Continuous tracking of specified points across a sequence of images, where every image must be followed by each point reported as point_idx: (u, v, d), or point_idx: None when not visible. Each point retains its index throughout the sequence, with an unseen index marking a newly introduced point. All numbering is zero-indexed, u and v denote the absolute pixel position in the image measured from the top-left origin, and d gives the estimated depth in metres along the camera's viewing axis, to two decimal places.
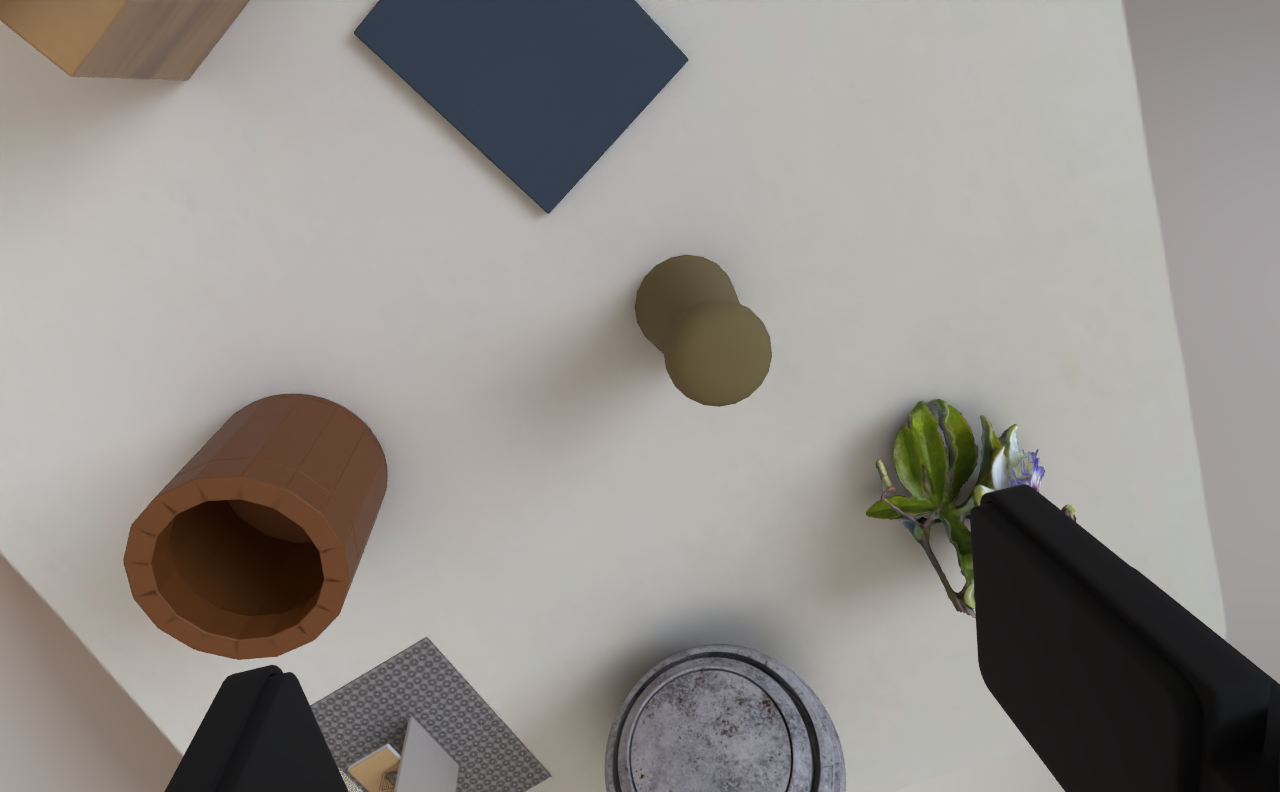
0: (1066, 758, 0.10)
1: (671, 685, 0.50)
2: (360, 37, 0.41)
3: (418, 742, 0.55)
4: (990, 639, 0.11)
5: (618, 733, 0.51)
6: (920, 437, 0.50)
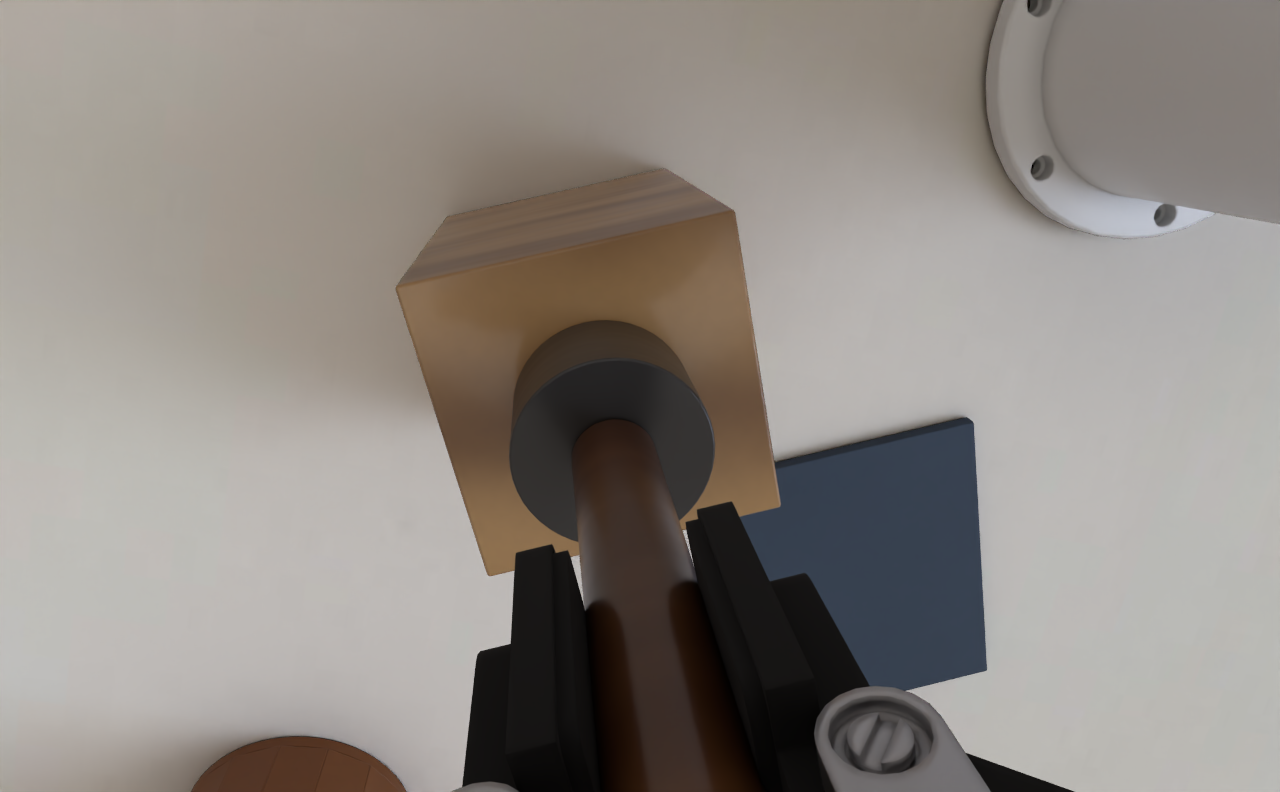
0: None
1: None
2: None
3: None
4: None
5: None
6: None
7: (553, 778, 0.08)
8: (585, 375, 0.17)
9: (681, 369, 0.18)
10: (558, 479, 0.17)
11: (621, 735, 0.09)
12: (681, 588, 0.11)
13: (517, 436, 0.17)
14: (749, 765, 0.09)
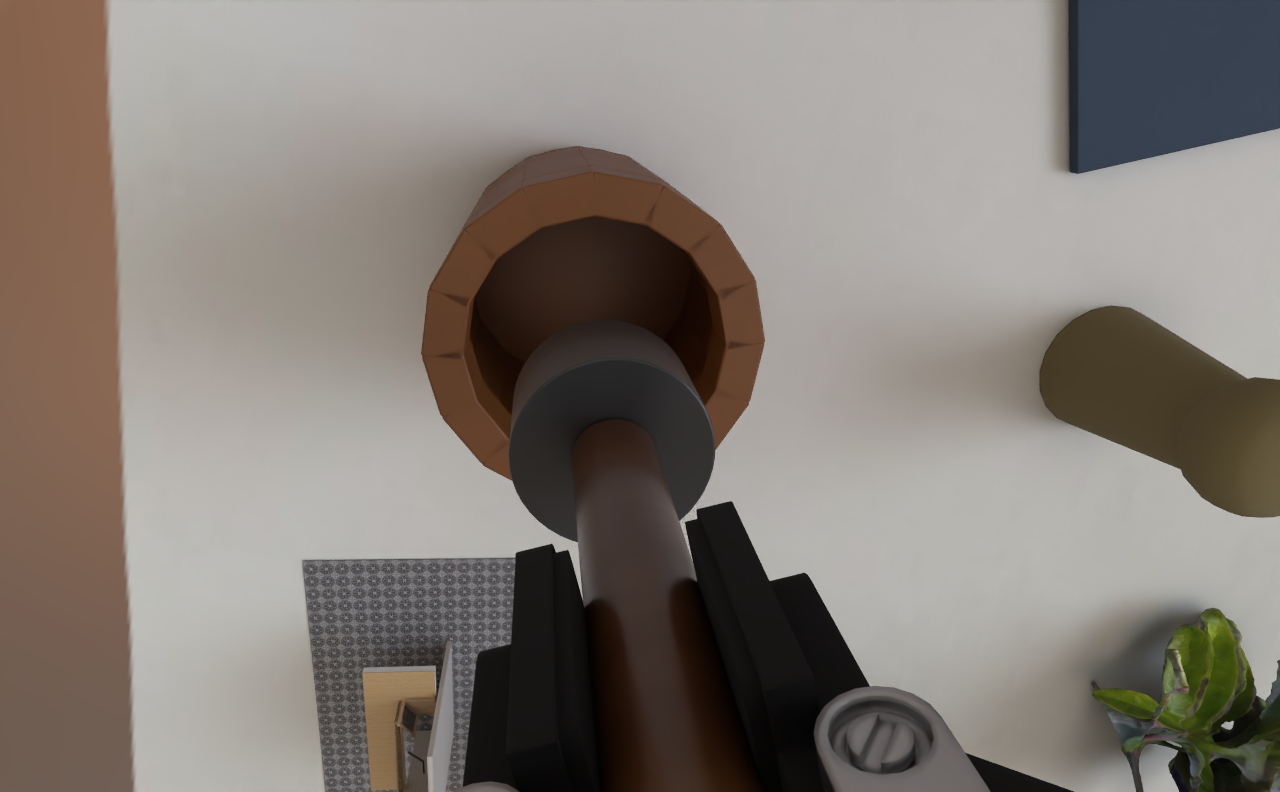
0: None
1: None
2: None
3: (448, 680, 0.39)
4: None
5: None
6: None
7: (553, 778, 0.08)
8: (585, 375, 0.16)
9: (681, 369, 0.18)
10: (557, 479, 0.17)
11: (621, 737, 0.09)
12: (681, 589, 0.11)
13: (516, 436, 0.17)
14: (750, 767, 0.09)
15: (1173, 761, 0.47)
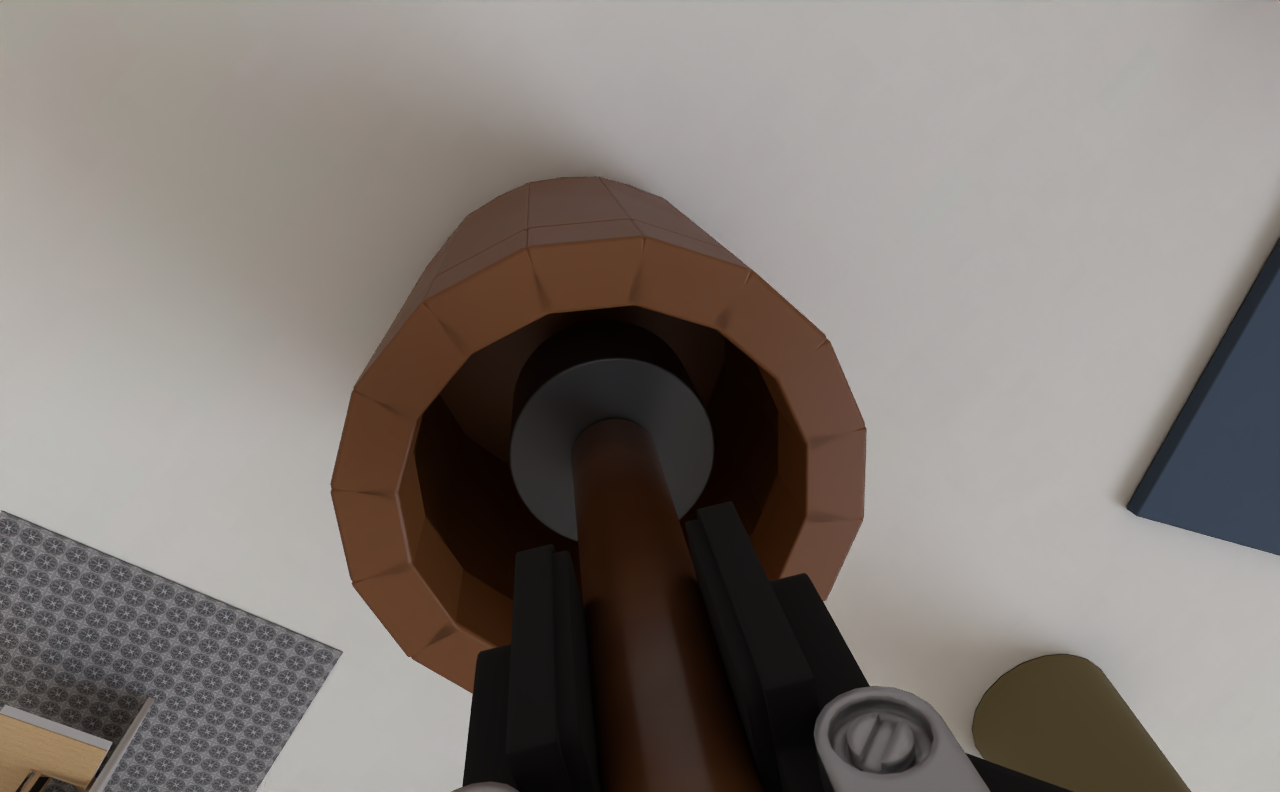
0: None
1: None
2: None
3: (121, 754, 0.27)
4: None
5: None
6: None
7: (553, 778, 0.08)
8: (585, 374, 0.17)
9: (681, 368, 0.18)
10: (558, 478, 0.17)
11: (621, 735, 0.09)
12: (681, 588, 0.11)
13: (517, 436, 0.17)
14: (749, 765, 0.09)
15: None
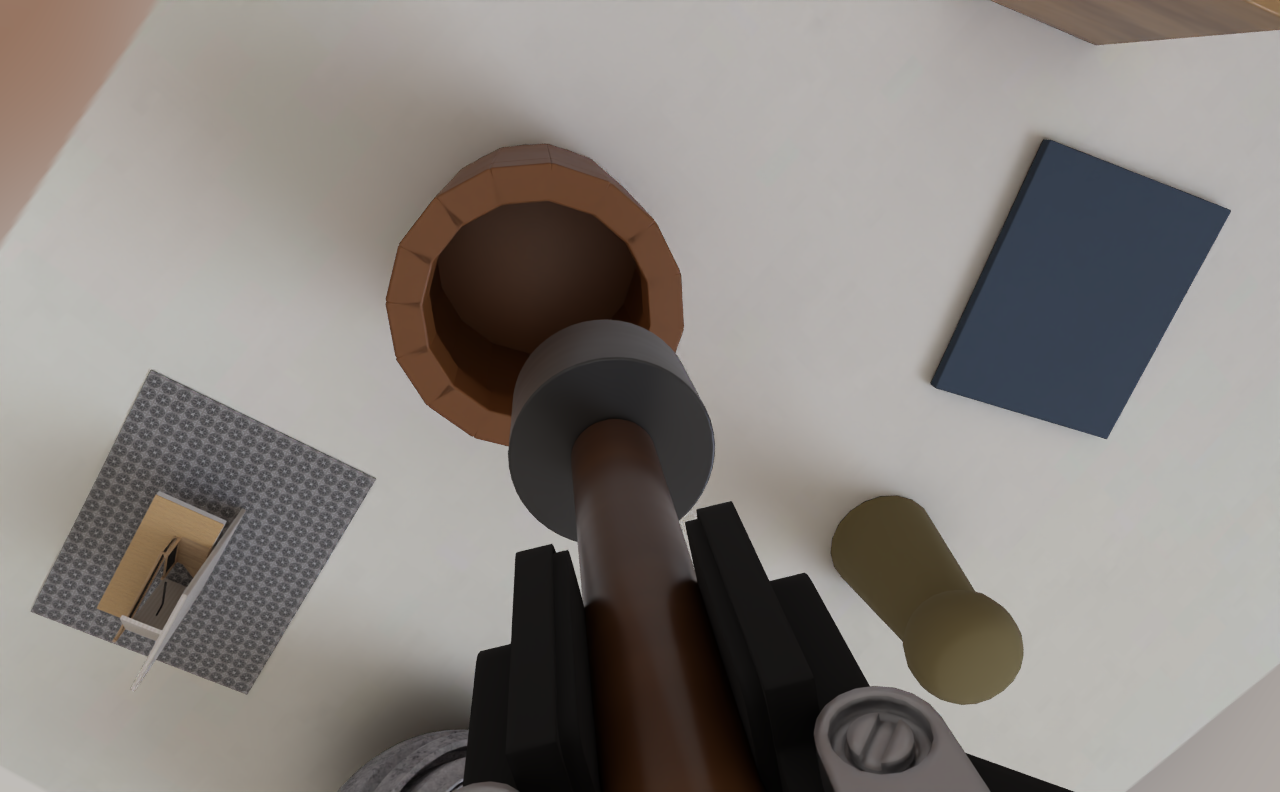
0: None
1: None
2: (1047, 148, 0.39)
3: (226, 542, 0.40)
4: None
5: None
6: None
7: (553, 778, 0.08)
8: (585, 374, 0.17)
9: (681, 368, 0.18)
10: (557, 478, 0.17)
11: (620, 735, 0.09)
12: (681, 588, 0.11)
13: (517, 436, 0.17)
14: (749, 766, 0.09)
15: None
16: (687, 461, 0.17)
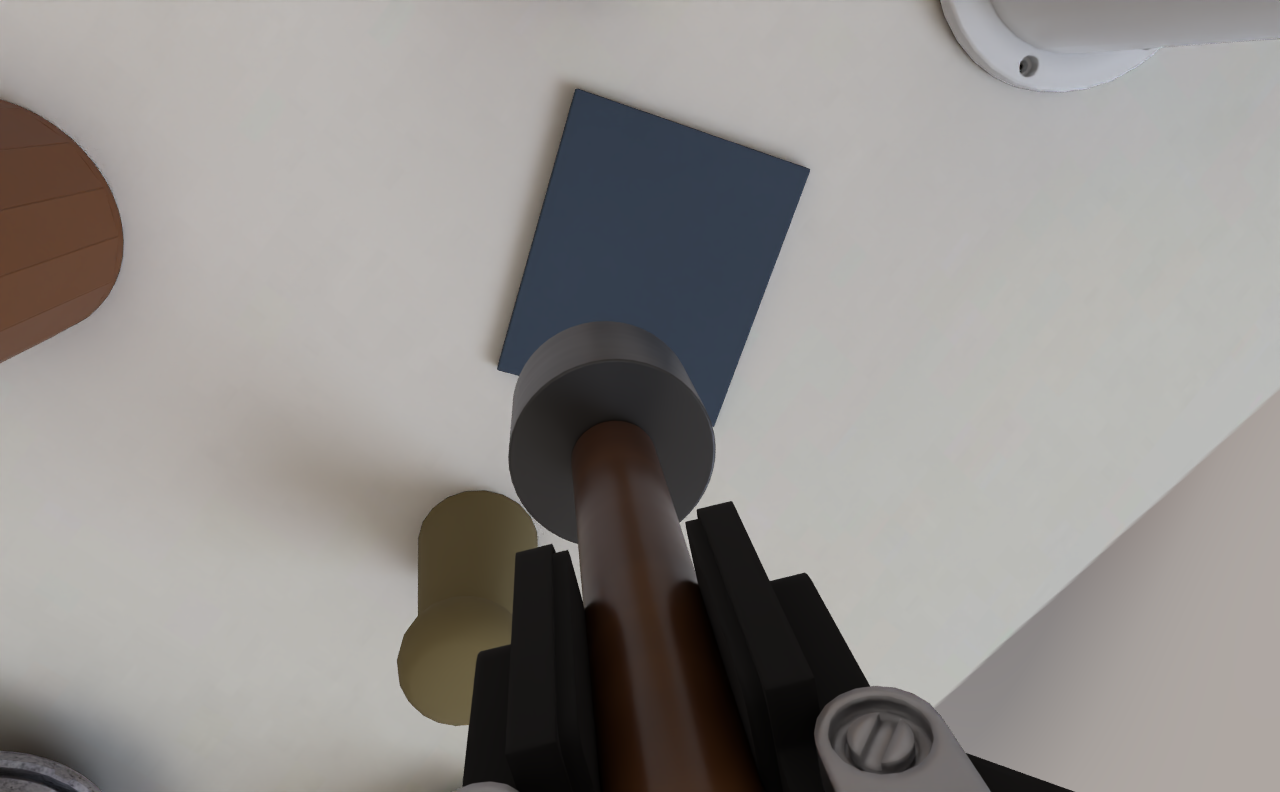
0: None
1: None
2: (575, 97, 0.34)
3: None
4: None
5: None
6: None
7: (553, 778, 0.08)
8: (585, 377, 0.16)
9: (681, 370, 0.18)
10: (557, 480, 0.17)
11: (621, 740, 0.09)
12: (681, 592, 0.11)
13: (516, 438, 0.17)
14: (750, 771, 0.09)
15: None
16: (687, 463, 0.17)
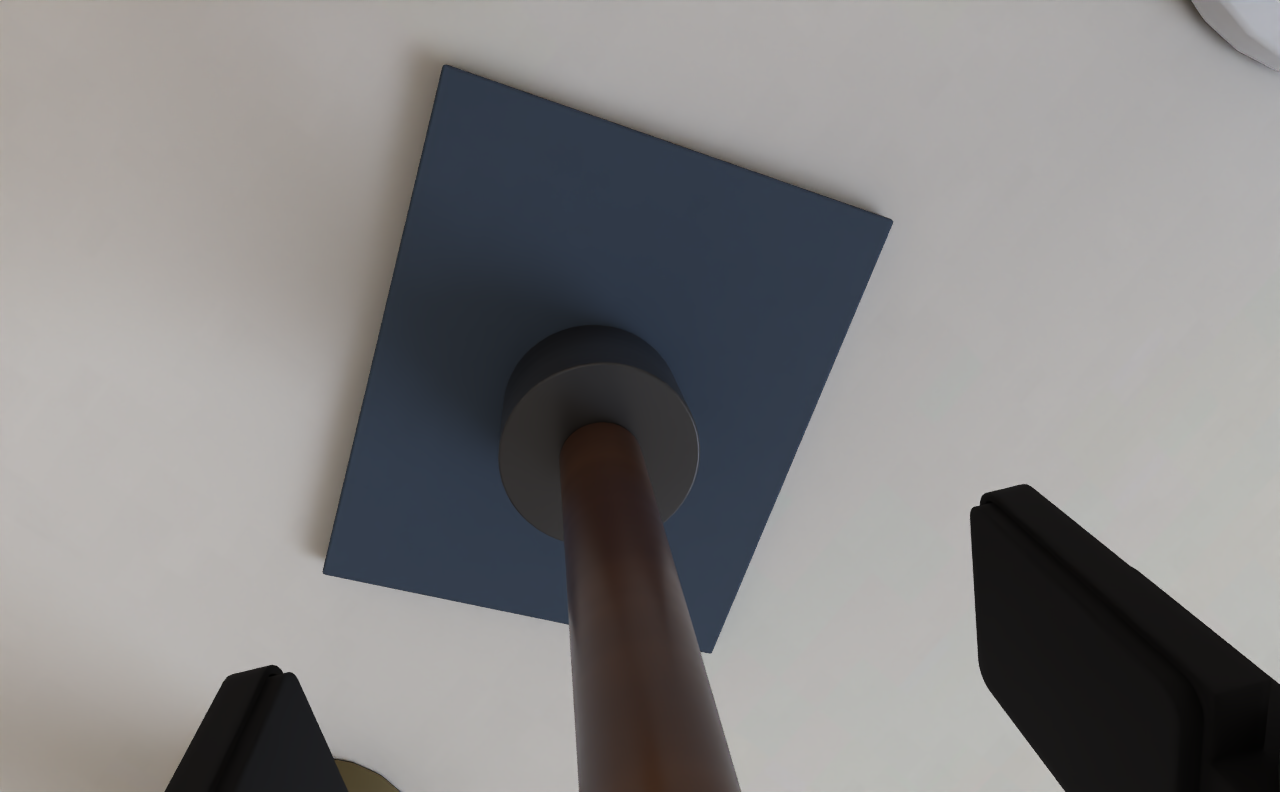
0: (1065, 758, 0.10)
1: None
2: (442, 83, 0.17)
3: None
4: (990, 639, 0.11)
5: None
6: None
7: None
8: (572, 379, 0.17)
9: (667, 373, 0.18)
10: (546, 481, 0.18)
11: (599, 726, 0.09)
12: (660, 586, 0.12)
13: (506, 438, 0.17)
14: (720, 754, 0.09)
15: None
16: (673, 463, 0.18)
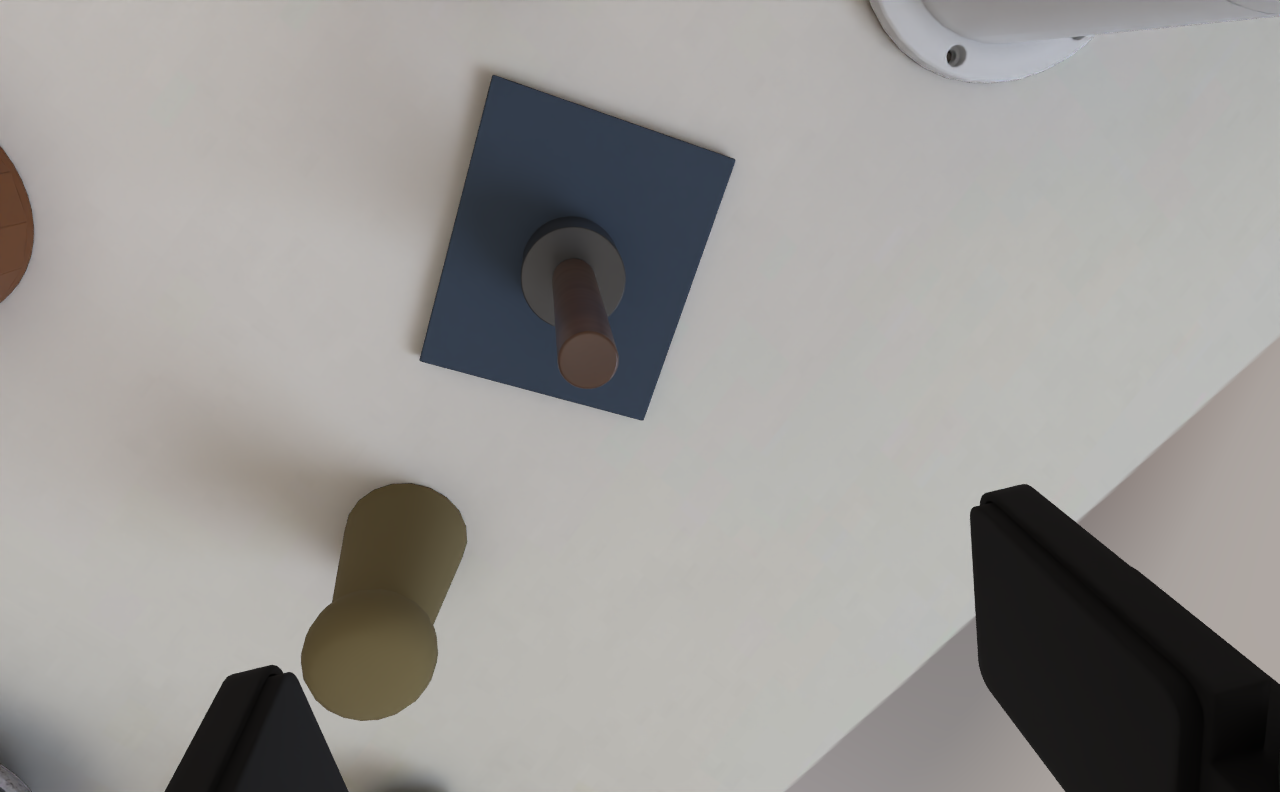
0: (1065, 758, 0.10)
1: None
2: (491, 84, 0.34)
3: None
4: (990, 639, 0.11)
5: None
6: None
7: None
8: (558, 235, 0.33)
9: (609, 238, 0.35)
10: (545, 291, 0.34)
11: (563, 320, 0.26)
12: (592, 295, 0.28)
13: (525, 267, 0.34)
14: (605, 323, 0.25)
15: None
16: (611, 283, 0.34)
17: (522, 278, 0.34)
